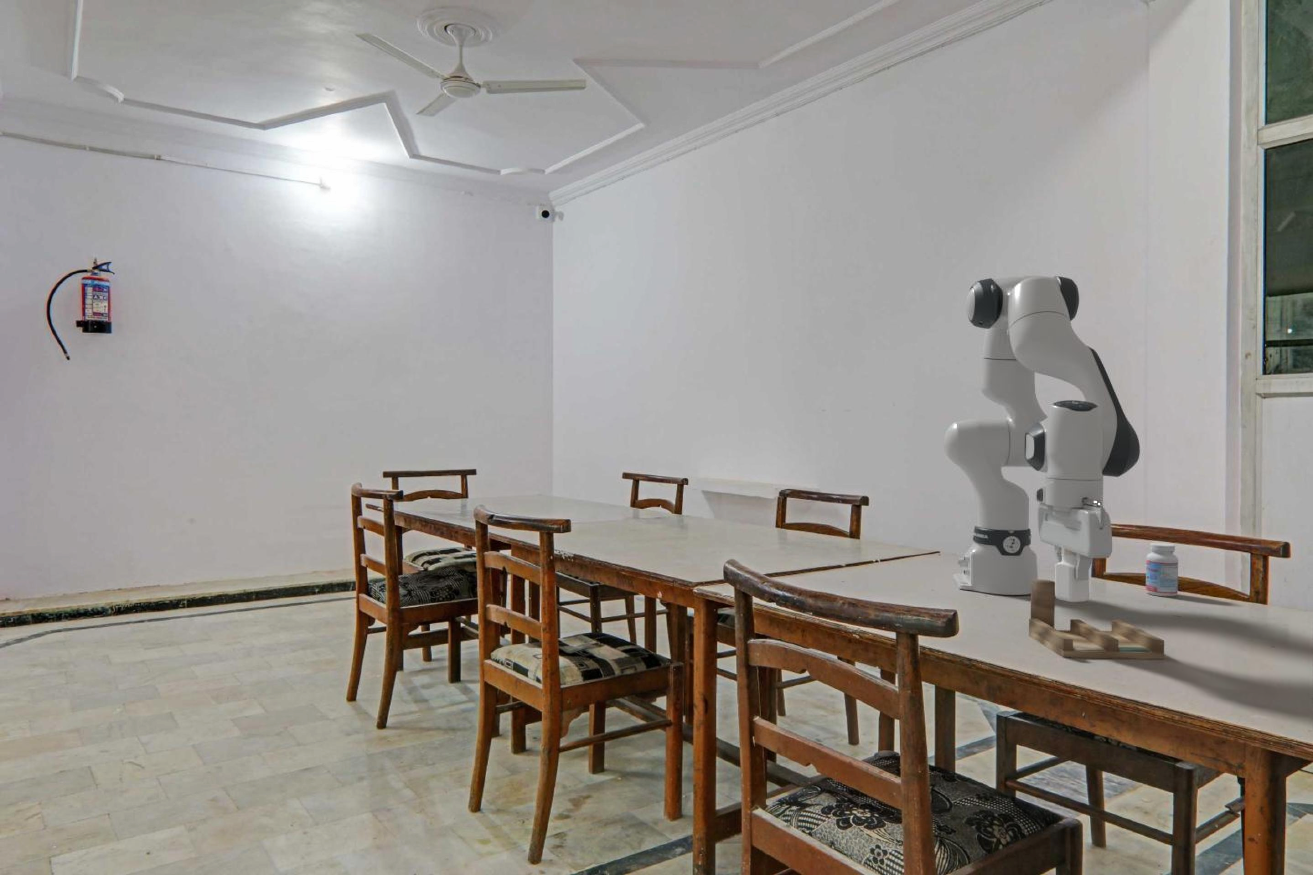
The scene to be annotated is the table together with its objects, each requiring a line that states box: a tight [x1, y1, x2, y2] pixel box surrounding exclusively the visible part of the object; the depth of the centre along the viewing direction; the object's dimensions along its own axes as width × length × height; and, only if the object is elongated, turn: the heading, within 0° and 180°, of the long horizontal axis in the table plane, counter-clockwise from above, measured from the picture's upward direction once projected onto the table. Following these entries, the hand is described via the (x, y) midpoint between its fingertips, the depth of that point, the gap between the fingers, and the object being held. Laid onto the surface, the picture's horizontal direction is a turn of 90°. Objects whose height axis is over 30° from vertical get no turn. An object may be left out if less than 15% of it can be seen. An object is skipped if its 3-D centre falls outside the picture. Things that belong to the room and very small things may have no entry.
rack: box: [1028, 618, 1165, 660], centre depth 143 cm, size 14×16×3 cm
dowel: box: [1030, 578, 1056, 629], centre depth 154 cm, size 4×4×9 cm
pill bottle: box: [1145, 542, 1179, 598], centre depth 187 cm, size 6×6×11 cm
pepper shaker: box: [1054, 545, 1090, 603], centre depth 143 cm, size 4×4×10 cm
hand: (1072, 576), depth 143 cm, fingers closed on pepper shaker, 5 cm apart
